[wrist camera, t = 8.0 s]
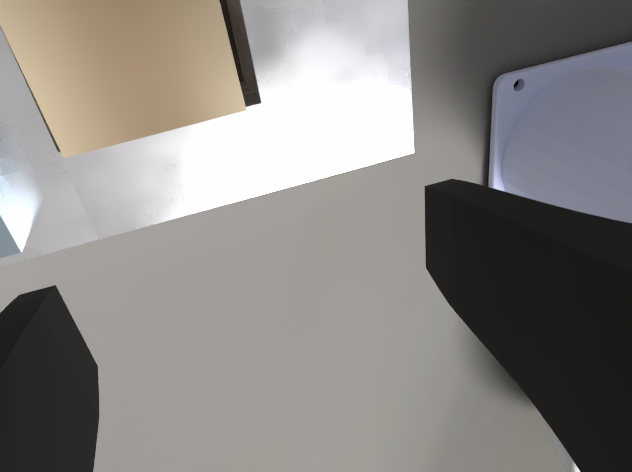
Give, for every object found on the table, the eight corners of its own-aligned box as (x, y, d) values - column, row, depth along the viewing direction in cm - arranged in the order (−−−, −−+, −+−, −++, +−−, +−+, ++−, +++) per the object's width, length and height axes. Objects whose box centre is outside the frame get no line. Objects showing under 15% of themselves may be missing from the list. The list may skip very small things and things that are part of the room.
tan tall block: (171, -84, 15) (194, -103, 9) (208, 54, 17) (246, 110, 11) (31, -58, 14) (-40, -59, 8) (89, 83, 16) (64, 158, 11)
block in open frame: (347, -285, 14) (425, -370, 10) (380, 127, 20) (434, 168, 16) (-335, -217, 11) (-578, -300, 7) (-44, 238, 17) (-92, 317, 14)
